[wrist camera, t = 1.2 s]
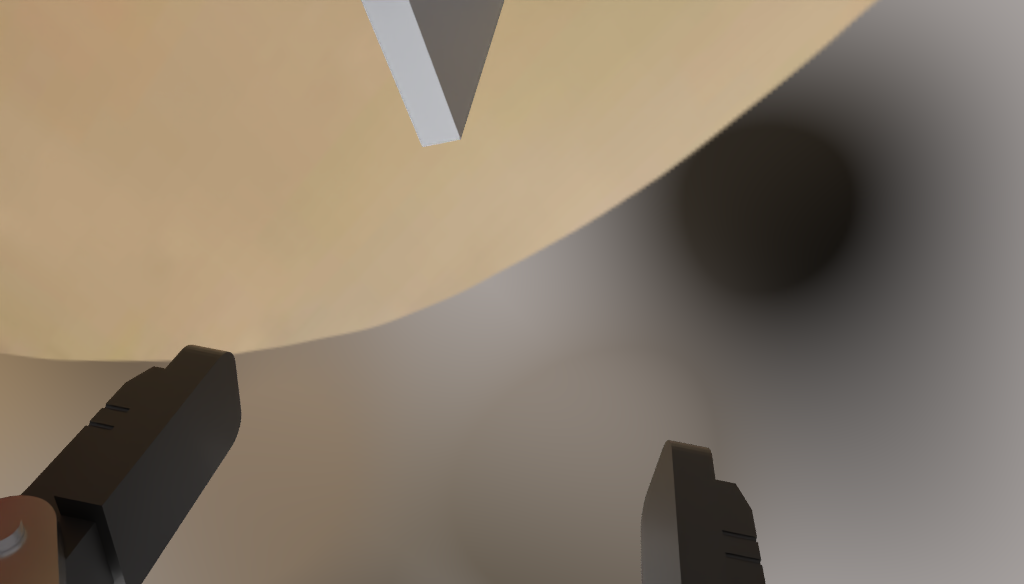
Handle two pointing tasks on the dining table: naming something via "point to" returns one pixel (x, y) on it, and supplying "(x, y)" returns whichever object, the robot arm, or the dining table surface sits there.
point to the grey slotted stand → (435, 57)
